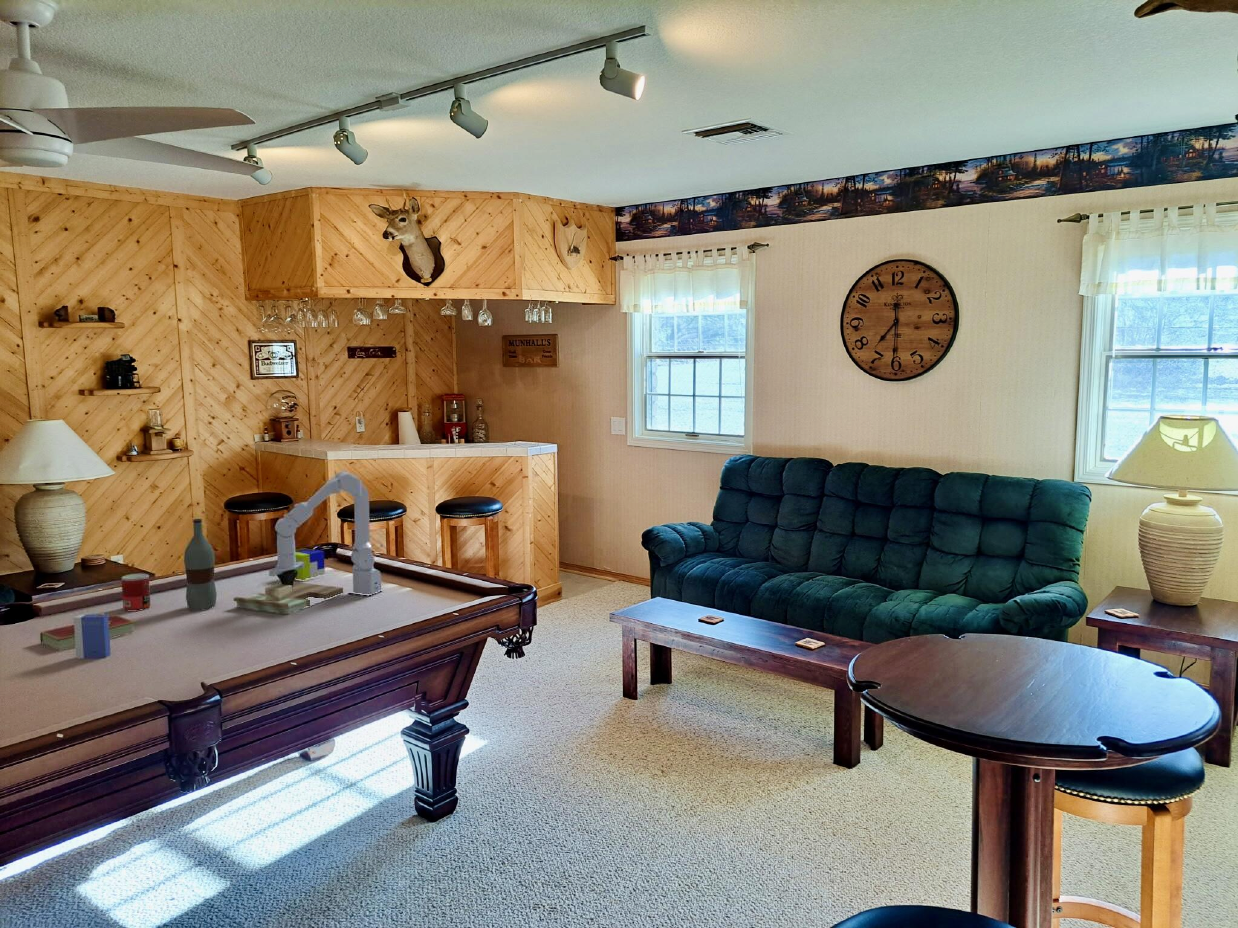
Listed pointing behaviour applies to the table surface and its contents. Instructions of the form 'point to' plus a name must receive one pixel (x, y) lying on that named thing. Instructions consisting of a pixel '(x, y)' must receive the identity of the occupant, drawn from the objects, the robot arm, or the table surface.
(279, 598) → the maple block
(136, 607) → the canned food
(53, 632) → the hardcover book
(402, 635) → the table surface
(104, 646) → the walkman
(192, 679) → the table surface
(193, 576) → the bottle
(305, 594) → the trap deck
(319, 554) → the puzzle toy
